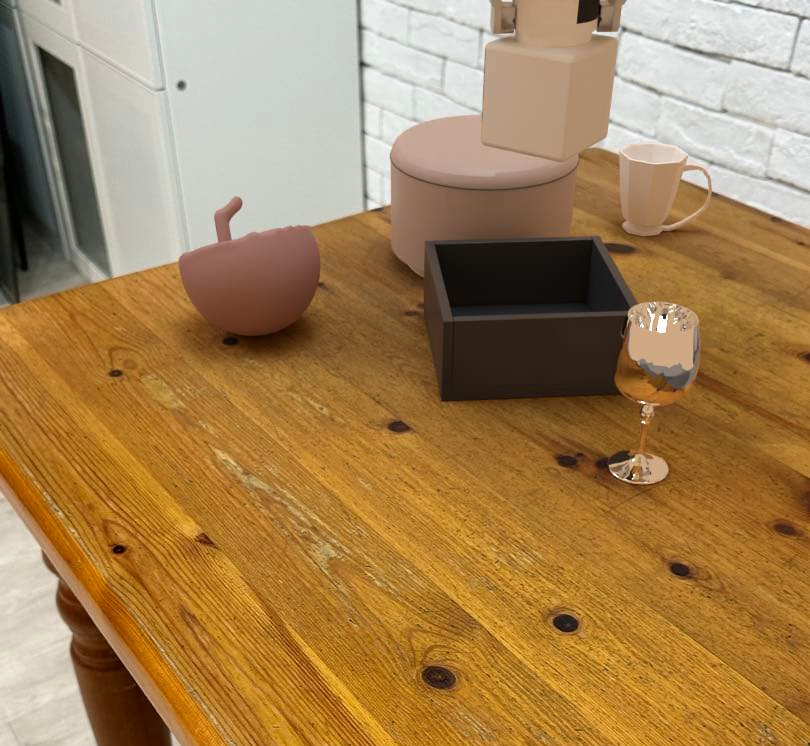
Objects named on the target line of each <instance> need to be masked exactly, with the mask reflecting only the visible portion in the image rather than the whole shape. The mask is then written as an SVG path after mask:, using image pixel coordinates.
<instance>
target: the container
mask: <svg viewBox="0 0 810 746" xmlns="http://www.w3.org/2000/svg"><path fill="white" fill-rule="evenodd" d="M481 126H482V114H468V115H467V114H466V115H453V116H446V117H439V118H434V119H431V120H426V121H424V122H423V121H422V122H420V123H417V124H416V125H413V126H411V127H409V128H407V129H406V130H404V131H403V132H402V133H400V134H399V135H398V136H397V137H396V138H395V140H394V142H393V144H392V146H391V150H390V153H389V160H390V246H391V249H392V251H393V253H394V255H395V256H396V258H398V259H399V260H400V261H401V262H403V263H404V264H405V265H408V267H409V268H410V270H412V271H413V272H414V273H415V274H417V275H419V276H420V277H422V278H424V249H425V241H439V240H474V239H509V238H545V237H571V233H572V224H573V214H574V205H575V195H576V185H577V175H578V166H579V164H580V157H579V154H577V155H575V156H573V157H572V158H570V159H568V160H566V161H565V162H557V161H553V160H548V159H543V158H539V157H534V156H530V155H525V154H521V153H516V152H512V151H507V150H503V149H498V148H494V147H489V146H485V145H483V144H482V143H481Z"/></svg>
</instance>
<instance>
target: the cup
mask: <svg viewBox="0 0 810 746" xmlns="http://www.w3.org/2000/svg"><path fill="white" fill-rule="evenodd" d="M689 156H690V155H689V153H687V152H686V151H684V150H683V149H682V148H680V147H679V146H678V145H673V144H667V143H662V142H656V141H645V142H633V143H628V144H627V145H626V146H624V147H623V148H622V149H620V150H618V164H619V165H618V167H619V200H620V207H621V214H622V215H621V216H622V218H623V219H625V221H624V222H622V224H621V228H622V229H623V230H624V231H625V232H626V233H627V234H630V235H635V236H640V237H651V236H659V235H660V234H661V233H662V232H671V231H674V230H676V229H679V228H681V227H683V226H684V225H687V224H689V223H690V222H692V221H694V220H695V219H697V218H699V217H700V216H701V215H702V214H703V213H704V212H705V211H706V210H707V209H708V207H709V205H710V202H711V200H712V195H713V186H712V185H713V184H712V178H711V174H710V173H709V171H708V170H707V168H706V166H704V165H702V164H700V163H696V162H687V161H688V158H689ZM696 170H699V171H701V172H702V174H703V175H704V176H705V178H706V180H707V185H708V186H707V187H708V188H707V189H708V191H707V197H706V200H705V201H704V204H703V205H702V206H701V207H700V208H698V209H697V210H696V211H695V212H693V213H692V214H690V215H689V216H687V217H685V218H684V219H681V220H680V221H677V222H675V223H672V224H668V225H667V224H666V225H665V224H663V223H664V222H665V221H666V220H667V218H668V216H669V213H670V212H671V210H672V207H673V204H674V202H675V200H676V197H677V193H678V190H679V187H680V183H681V180H682V177H683V174H684V172H689V171H696Z"/></svg>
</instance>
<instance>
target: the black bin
mask: <svg viewBox="0 0 810 746" xmlns="http://www.w3.org/2000/svg"><path fill="white" fill-rule="evenodd" d="M615 262H616V261H614V259H613V257H612V255H611V254H610V252H609V250H608V249H607V246H606V244H605V243H604V241H603V240H602V238H601V236H600V235H583V236H570V237H545V238H509V239H474V240H439V241H425V249H424V277H423V318H424V322H425V328H426V332H427V338H428V342H429V347H430V352H431V357H432V361H433V366H434V367H433V368H434V373H435V376H436V381H437V386H438V391H439V396H440V400H441V401H442V402H446V401H447V402H449V401H471V400H473V401H475V400H476V401H477V400H498V399H499V400H501V399H523V398H524V399H526V398H549V397H550V398H551V397H578V396H579V397H581V396H605V395H623V394H622V393H621V392H620V391H619V389H618V388H617V386H616V384H615V382H614V379H613V373H612V359H613V353H614V349H615V345H616V341H617V338H618V335H619V332H620V330H621V327H622V324H623V322H624V320H625V318H626V316H627V313H628V311H629V310H630V309H631V308H632V307H633V306H635V305H638V304H639V303H638V301H637V299H636V297H635V296H634V294H633V292H632V290H631V288H630V287H629V285H628V283H627V281H626V279H625V278H624V276H623V274H622V273H621V271H620V270H619V269H620V268H618V266H617V264H616V263H615Z"/></svg>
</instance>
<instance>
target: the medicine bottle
mask: <svg viewBox="0 0 810 746" xmlns="http://www.w3.org/2000/svg"><path fill="white" fill-rule="evenodd" d="M511 2H512V3H513V5H515V7H516V11H515V18H514V20H513V23H514V24H515V28H514V33H510V34H506V35H504V36H501V37H499V38H496V39H493V40H491V41H488V42H487V43H486V44H485V47H484V63H483V64H484V65H483V82H482V83H483V87H482V106H481V107H482V108H481V115H482V126H481V143H482V144H483V145H485V146H489V147H494V148H498V149H503V150H507V151H512V152H516V153H521V154H525V155H530V156H534V157H539V158H543V159H548V160H553V161H557V162H565V161H566V160H568V159H570V158H572V157H573V156H575V155H577V154H578V155H579V154H580V153H582V152H584V151H585V150H588V149H589V148H591V147H593V146H594V145H596V144H598V143H599V142H601V141H603V140H605V139H606V138H607V136H608V133H609V124H610V116H611V107H612V98H613V90H614V82H615V74H616V66H617V56H618V48H619V39H618V38H617V37H614V36H611V35H605V34H597V33H593V32H595V31H596V29H597V23H598V14H599V4H600V0H511Z"/></svg>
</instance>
